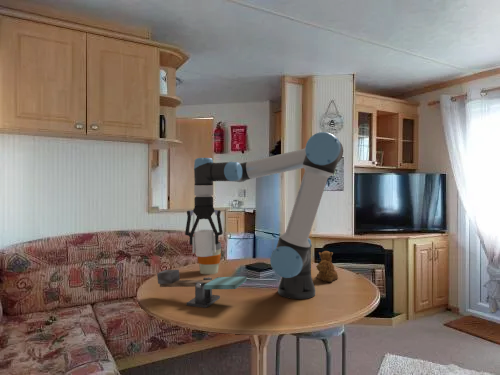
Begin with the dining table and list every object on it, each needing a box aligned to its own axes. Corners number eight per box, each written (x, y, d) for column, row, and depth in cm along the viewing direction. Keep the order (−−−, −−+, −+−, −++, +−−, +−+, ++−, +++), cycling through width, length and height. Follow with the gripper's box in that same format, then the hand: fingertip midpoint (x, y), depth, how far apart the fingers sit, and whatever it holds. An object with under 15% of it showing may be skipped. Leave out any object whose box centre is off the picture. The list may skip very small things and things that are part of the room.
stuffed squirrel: (338, 277, 173) (338, 249, 173) (337, 284, 160) (337, 255, 160) (317, 275, 176) (317, 248, 176) (314, 282, 162) (315, 253, 162)
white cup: (214, 256, 141) (214, 231, 141) (194, 257, 140) (194, 232, 140) (213, 253, 149) (213, 229, 149) (194, 254, 148) (194, 229, 148)
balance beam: (246, 280, 135) (245, 266, 136) (235, 289, 124) (233, 273, 124) (170, 281, 146) (169, 268, 146) (153, 289, 134) (152, 275, 135)
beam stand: (219, 298, 139) (219, 277, 139) (206, 307, 127) (206, 285, 127) (201, 296, 141) (201, 275, 141) (186, 305, 130) (186, 283, 130)
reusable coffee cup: (200, 269, 188) (200, 240, 188) (223, 269, 186) (223, 241, 186) (193, 274, 176) (193, 244, 176) (218, 275, 174) (218, 245, 174)
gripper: (229, 195, 149) (229, 250, 149) (179, 196, 148) (180, 251, 148) (228, 196, 141) (229, 253, 141) (176, 196, 141) (177, 254, 140)
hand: (204, 252), depth 145 cm, fingers closed on white cup, 8 cm apart
